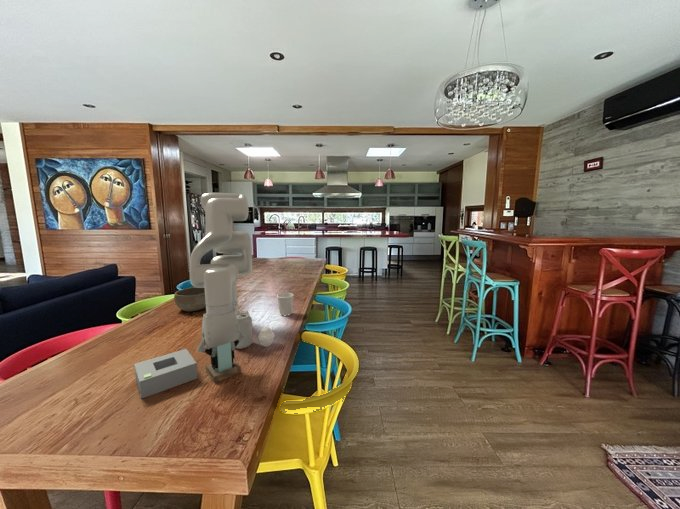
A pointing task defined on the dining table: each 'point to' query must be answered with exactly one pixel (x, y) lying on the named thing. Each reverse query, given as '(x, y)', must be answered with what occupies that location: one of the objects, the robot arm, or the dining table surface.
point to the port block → (165, 372)
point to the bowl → (190, 299)
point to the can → (245, 330)
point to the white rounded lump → (266, 337)
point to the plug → (224, 357)
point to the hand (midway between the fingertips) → (223, 363)
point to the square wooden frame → (223, 372)
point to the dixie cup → (285, 303)
